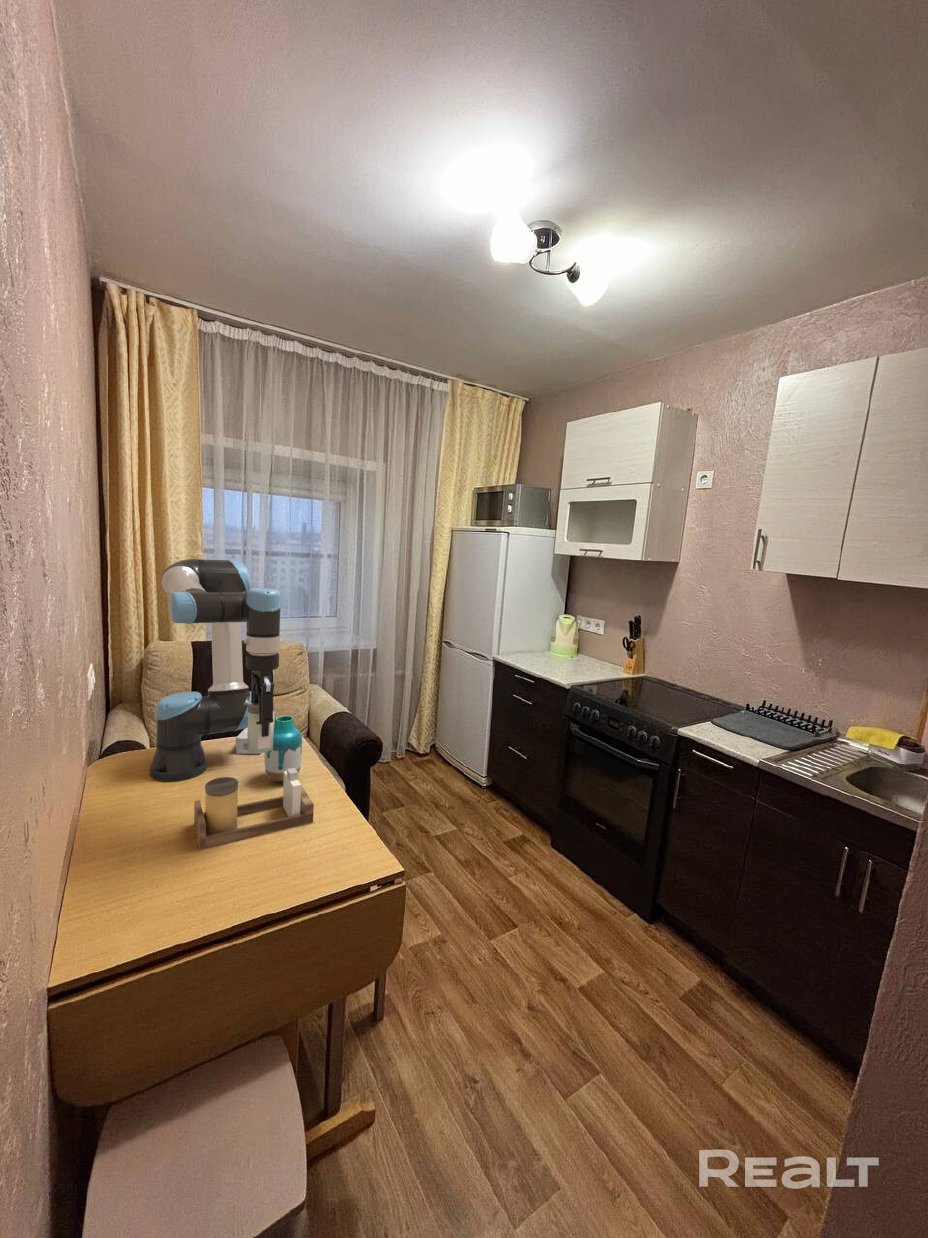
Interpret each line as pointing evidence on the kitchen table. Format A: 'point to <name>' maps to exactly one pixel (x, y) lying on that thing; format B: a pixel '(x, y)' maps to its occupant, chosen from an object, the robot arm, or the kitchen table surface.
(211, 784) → the amber jar
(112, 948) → the kitchen table surface
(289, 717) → the vase
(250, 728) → the sage jar
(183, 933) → the kitchen table surface
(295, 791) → the plate
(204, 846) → the wooden spice rack
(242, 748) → the skincare box
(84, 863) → the kitchen table surface
